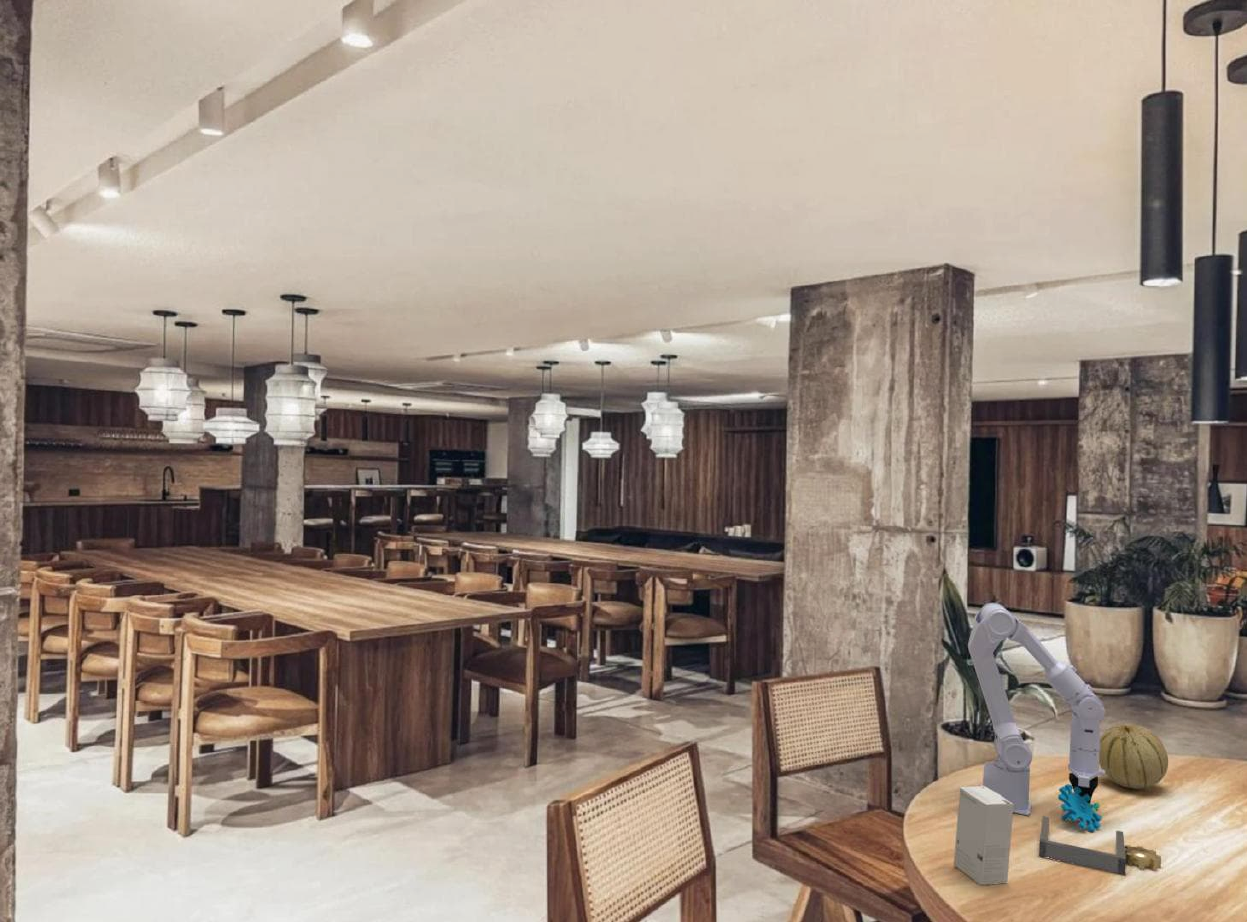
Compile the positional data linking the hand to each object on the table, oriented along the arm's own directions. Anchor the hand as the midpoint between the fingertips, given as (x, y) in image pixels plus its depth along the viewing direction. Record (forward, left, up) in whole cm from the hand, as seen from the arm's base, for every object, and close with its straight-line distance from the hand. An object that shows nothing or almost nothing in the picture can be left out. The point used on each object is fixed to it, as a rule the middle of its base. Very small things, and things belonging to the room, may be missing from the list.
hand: (1082, 810), depth 192 cm
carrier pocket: (+3, -21, -1) cm, 21 cm away
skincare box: (-16, -42, -1) cm, 45 cm away
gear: (0, -6, -1) cm, 6 cm away
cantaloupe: (+10, +27, -1) cm, 28 cm away
